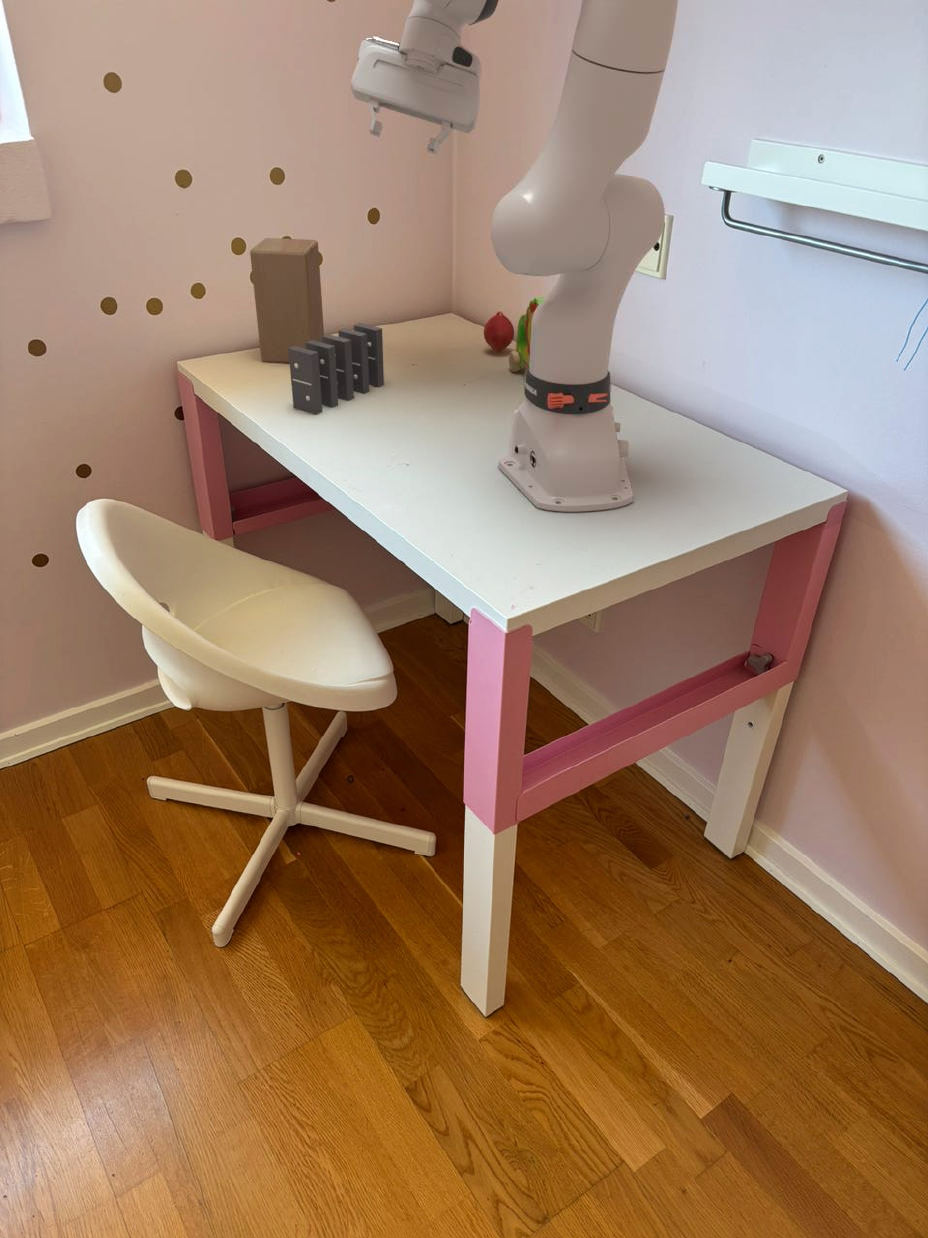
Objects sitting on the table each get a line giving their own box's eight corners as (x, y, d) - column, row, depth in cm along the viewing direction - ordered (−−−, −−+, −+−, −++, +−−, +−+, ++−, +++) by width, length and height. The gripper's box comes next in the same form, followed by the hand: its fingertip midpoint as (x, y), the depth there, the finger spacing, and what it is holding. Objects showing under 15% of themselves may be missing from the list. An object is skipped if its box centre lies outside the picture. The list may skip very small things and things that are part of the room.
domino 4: (347, 384, 167) (344, 328, 162) (369, 391, 165) (367, 333, 159) (341, 387, 166) (338, 330, 161) (363, 393, 164) (360, 336, 158)
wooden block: (325, 347, 184) (318, 239, 173) (313, 364, 176) (305, 252, 165) (275, 345, 185) (264, 237, 174) (260, 362, 177) (248, 249, 165)
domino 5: (362, 378, 170) (359, 322, 165) (383, 384, 168) (382, 328, 162) (356, 381, 169) (353, 325, 163) (377, 387, 167) (375, 330, 161)
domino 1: (300, 404, 159) (295, 345, 154) (322, 411, 157) (318, 352, 151) (293, 407, 158) (287, 348, 152) (315, 414, 156) (310, 354, 150)
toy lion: (506, 368, 176) (509, 284, 168) (534, 366, 177) (539, 282, 169) (532, 398, 163) (537, 309, 155) (562, 396, 164) (569, 307, 156)
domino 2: (316, 398, 162) (312, 339, 156) (338, 404, 160) (334, 345, 154) (309, 400, 161) (305, 342, 155) (331, 407, 158) (327, 348, 153)
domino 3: (332, 391, 165) (328, 334, 159) (353, 397, 162) (350, 339, 157) (325, 394, 163) (321, 336, 158) (347, 400, 161) (344, 342, 156)
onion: (481, 347, 186) (482, 305, 181) (510, 346, 186) (512, 305, 182) (485, 357, 181) (486, 314, 176) (515, 356, 182) (517, 314, 177)
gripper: (360, 22, 144) (336, 116, 146) (489, 62, 144) (463, 155, 146) (366, 41, 150) (343, 130, 152) (490, 79, 150) (465, 168, 153)
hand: (403, 143), depth 149 cm, fingers open, 8 cm apart
